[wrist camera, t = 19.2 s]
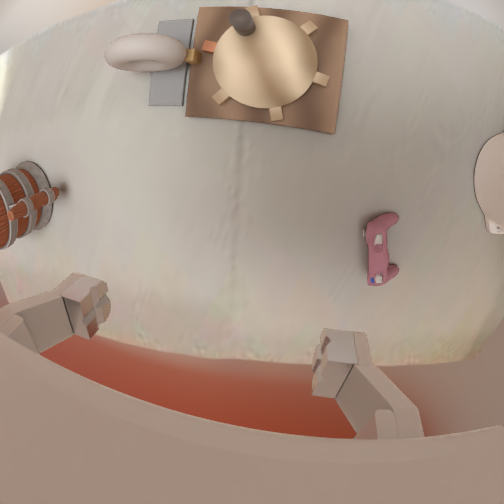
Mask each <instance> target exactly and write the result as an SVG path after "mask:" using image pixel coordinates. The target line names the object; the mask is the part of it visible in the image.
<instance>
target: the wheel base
mask: <svg viewBox="0 0 504 504" xmlns="http://www.w3.org/2000/svg"><path fill="white" fill-rule="evenodd" d="M236 9H245V10H246V7H200V8H199V13H198V19H197V25H196V32H195V38H194V45H193V49H186V50H187V55H186V58H185V59H184V61H185V62H187V63H189V64H191V67H190V75H189V84H188V93H187V103H186V114H185V116H187V117H207V118H221V119H233V120H244V121H253V122H262V123H270V124H277V125H284V126H291V127H297V128H303V129H309V130H315V131H320V132H326V133H331V134H334V132H335V126H336V119H337V113H338V106H339V98H340V91H341V83H342V75H343V67H344V58H345V49H346V39H347V28H348V20H344V19H339V18H334V17H329V16H324V15H318V14H312V13H306V12H299V11H291V10H282V9H271V8H258V10H259V14H260V16H276V17H280V18H284V19H286V20H289V21H291V22H293V23H295V24H296V25H298V26H299V27H300V26H302V25H303V24H305V23H306V22H308V21H309V20H310V21H311V22H312V23H313V24H315V25H316V26H317V27H318V29H317V32H315V33H314V34H312V35H311V36H309V37H310V39H311V40H312V42H313V44H314V46H315V49H316V52H317V58H318V65H317V71H316V72H320V73H322V74H325V75H327V76H330V77H329V80H328V82H327V85H326V87H325V88H323V87H321V86H318V85H316V84H313V83H312V84H311V85H310V87H309V88H308V90H307V91H306V92H305V93H304V94H303V95H302V96H301V97H299V98H298V99H297V100H295V101H293V102H291V103H289V104H287V105H284V106H281V109H282V114H283V119H282V120H275V121H271V116H270V111H269V109H265V108H255V107H251V106H248V105H245V104H242V103H240V102H238V101H236V100H235V99H233V98H232V97H231V98H230V99H229V100H228V101H226V102H225V103H224V104H223V105H219V104H218V103H217V102H216V101H215V100H214V99H213V98H212V96H213V95H214V94H215V93H217V92H218V91H219V90H220V89H221V86H220V85H219V83H218V82H217V79H216V77H215V74H214V71H213V54H211V53H206V52H204V51H203V50H201V49H202V47H203V44H204V42H205V40H208V41H213V42H217V43H218V41H219V39H220V38H221V36H222V35H223V34H224V33H225V32H226V31H227V30H228V29H229V28H230V27H231V26H232V24H231V23H230V21H229V16H230V14H231V13H232V12H233V11H234V10H236Z"/></svg>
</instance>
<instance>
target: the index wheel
mask: <svg viewBox="0 0 504 504" xmlns="http://www.w3.org/2000/svg"><path fill="white" fill-rule="evenodd" d="M229 21H230V23H231V24H232V26H231V27H230V28H229V29H228V30H227V31H226V32H225V33H224V34H223V35H222V36H221V38H220V39H219V41H218V43H217V42H213V41H208V40H205V42H204V44H203V47H202V49H201V50H203V51H204V52H206V53H211V54H213V71H214V74H215V77H216V79H217V82H218V83H219V85H220V86H221V89H220V90H219V91H218V92H217V93H215V94H214V95H213V96H212V98H213V99H214V100H215V101H216V102H217V103H218V104H219V105H223V104H224V103H225V102H226V101H228V100H229V99H230V98H231V97H232V98H233V99H235V100H236V101H238V102H240V103H242V104H245V105H248V106H251V107H255V108H265V109H269V111H270V116H271V121H275V120H282V119H283V114H282V109H281V106H284V105H287V104H289V103H291V102H293V101H295V100H297V99H298V98H299V97H301V96H302V95H303V94H304V93H305V92H306V91H307V90H308V88H309V87H310V85H311V84H312V83H313V84H316V85H318V86H321V87H323V88H325V87H326V85H327V82H328V80H329V77H330V76H327V75H325V74H322V73H320V72H316V71H317V65H318V58H317V52H316V49H315V46H314V44H313V42H312V40H311V39H310V37H309V36H311V35H312V34H314V33H315V32H317V29H318V27H317V26H316V25H315V24H313V23H312V22H311V21H310V20H309V21H308V22H306V23H305V24H303V25H302V26H300V27H299V26H298V25H296V24H295V23H293V22H291V21H289V20H286V19H284V18H280V17H276V16H260V14H259V10H258V7H257V5H256V6H251V7H246V10H245V9H236V10H234V11H233V12H232V13H231V14H230V16H229Z"/></svg>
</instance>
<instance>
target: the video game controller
mask: <svg viewBox="0 0 504 504" xmlns="http://www.w3.org/2000/svg"><path fill="white" fill-rule="evenodd" d="M398 220H399V216H398V215H397V214H395V213H386V214H383V215H380V216H378V217H377V218H375V219H374V220H373V221H370V222H368V224H367V230H364V231H363V237H364V239H365V238H366V242H367V246H368V247H369V267H368V275H367V282H368V285H373V286H378V285H383V284H385V283H386V282H388V281H389V280H390V279H392V278H393V277H395V276H396V275H397V274H398V272H399V268H398V267H397V266H395V265H388V264H389V253H388V249H387V230H388V229H389V228H390V227H391V226H392V225H394V224H395V223H396V222H397V221H398Z"/></svg>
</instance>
